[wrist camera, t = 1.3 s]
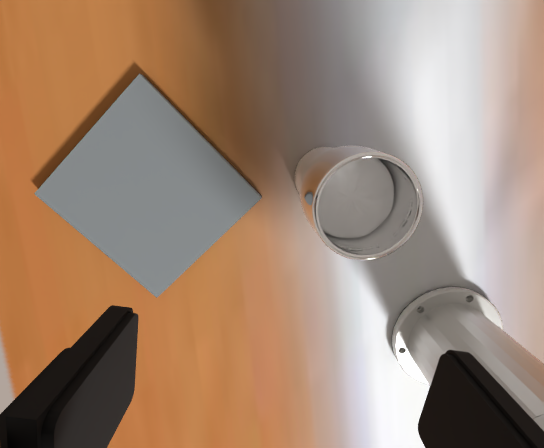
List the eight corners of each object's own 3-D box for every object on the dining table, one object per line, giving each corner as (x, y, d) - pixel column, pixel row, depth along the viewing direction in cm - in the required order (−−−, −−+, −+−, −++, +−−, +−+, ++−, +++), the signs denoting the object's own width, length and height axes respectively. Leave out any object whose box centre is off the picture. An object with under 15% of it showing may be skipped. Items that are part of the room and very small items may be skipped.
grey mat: (261, 196, 34) (261, 197, 33) (159, 293, 37) (156, 297, 36) (143, 75, 31) (139, 73, 30) (40, 192, 33) (34, 193, 32)
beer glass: (316, 222, 35) (352, 284, 20) (276, 171, 33) (285, 198, 19) (370, 182, 34) (448, 218, 19) (331, 127, 32) (386, 121, 18)
